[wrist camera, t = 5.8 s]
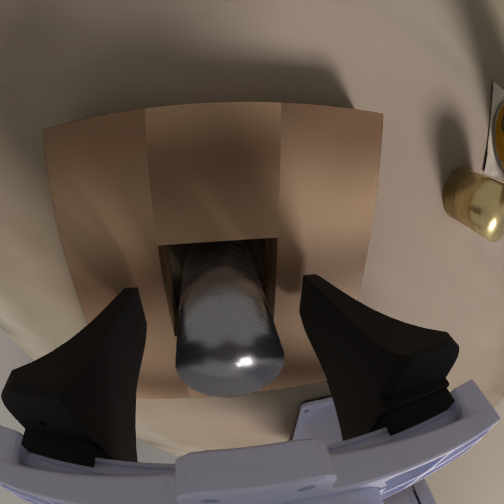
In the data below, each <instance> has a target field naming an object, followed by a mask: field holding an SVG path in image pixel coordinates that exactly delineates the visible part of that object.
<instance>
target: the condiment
mask: <svg viewBox="0 0 504 504" xmlns="http://www.w3.org/2000/svg"><path fill="white" fill-rule="evenodd" d="M487 152H488V155H487V160H486V166H485V171H484V174H487V175H490V176H492V177H495V178H497V179H500V180H502V181H504V90H503V89H502V88H501V87H499V86H498V85H497V84H496V83H495V82H494V81H493V95H492V108H491V118H490V131H489V140H488V150H487Z"/></svg>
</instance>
